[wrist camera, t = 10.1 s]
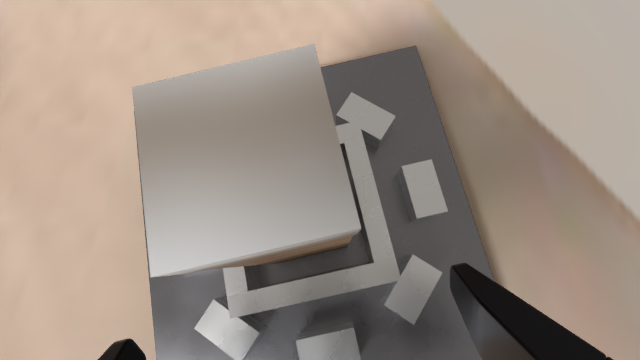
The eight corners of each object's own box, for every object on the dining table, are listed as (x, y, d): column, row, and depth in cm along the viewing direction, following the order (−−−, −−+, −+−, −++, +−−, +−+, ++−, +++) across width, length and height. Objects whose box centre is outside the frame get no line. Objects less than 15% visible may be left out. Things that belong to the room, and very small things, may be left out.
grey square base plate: (509, 352, 17) (551, 376, 14) (173, 427, 17) (132, 469, 14) (412, 55, 21) (425, 17, 18) (143, 117, 22) (106, 91, 18)
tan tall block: (348, 247, 18) (361, 228, 6) (274, 264, 18) (150, 277, 6) (331, 176, 19) (314, 43, 7) (261, 192, 19) (131, 87, 7)
